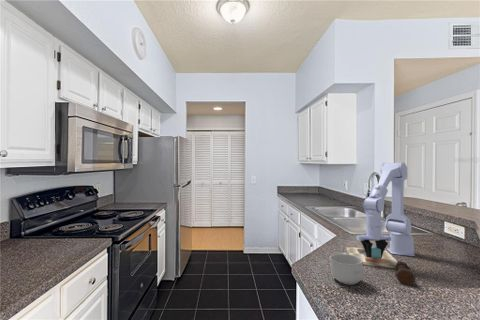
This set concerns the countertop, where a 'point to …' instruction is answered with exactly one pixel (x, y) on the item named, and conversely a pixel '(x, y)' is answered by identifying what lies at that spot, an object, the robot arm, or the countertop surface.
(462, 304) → the countertop surface
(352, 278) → the teacup
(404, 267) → the bolt
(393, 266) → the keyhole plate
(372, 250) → the slider block
